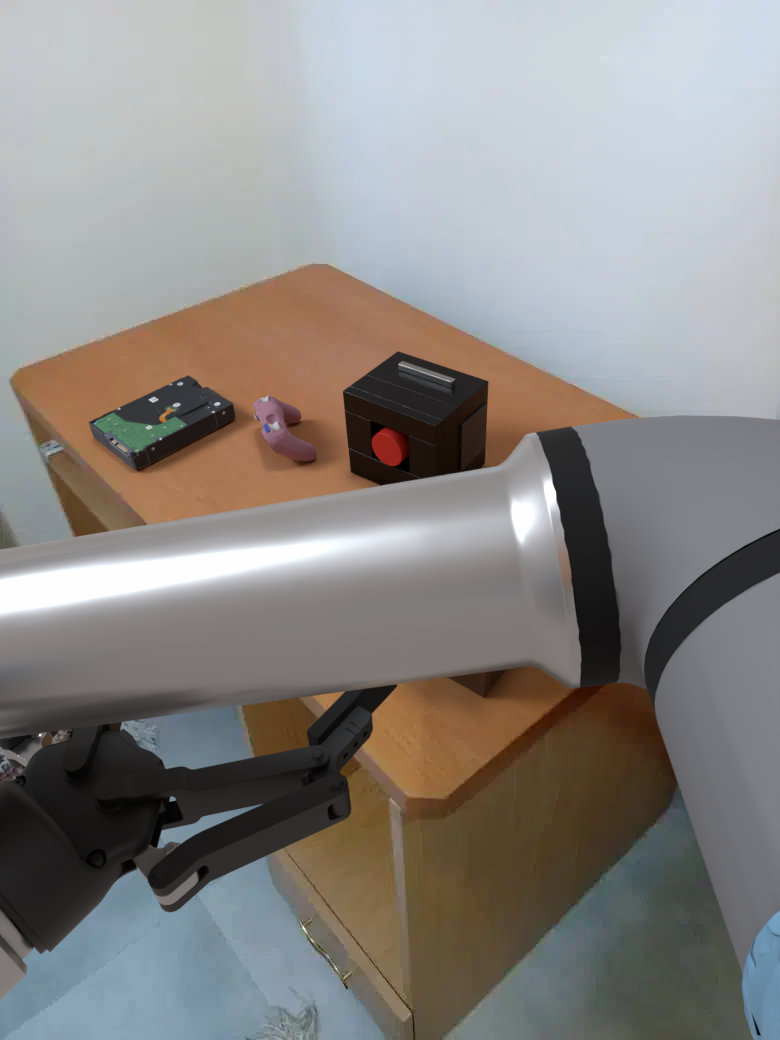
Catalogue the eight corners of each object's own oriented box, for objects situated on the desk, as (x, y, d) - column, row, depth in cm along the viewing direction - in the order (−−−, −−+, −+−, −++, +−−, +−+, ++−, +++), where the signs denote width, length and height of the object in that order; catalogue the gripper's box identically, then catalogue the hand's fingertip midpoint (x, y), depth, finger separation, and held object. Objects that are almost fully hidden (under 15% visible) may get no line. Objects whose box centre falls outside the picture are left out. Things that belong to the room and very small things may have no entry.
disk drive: (191, 392, 106) (92, 439, 98) (187, 373, 104) (85, 420, 97) (238, 420, 100) (136, 473, 93) (234, 402, 99) (130, 454, 91)
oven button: (416, 459, 86) (415, 428, 83) (402, 471, 84) (401, 440, 82) (386, 447, 88) (385, 417, 85) (372, 458, 86) (370, 428, 84)
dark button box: (486, 463, 91) (490, 374, 84) (438, 510, 85) (437, 420, 78) (401, 430, 97) (397, 344, 89) (350, 472, 91) (341, 384, 83)
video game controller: (273, 434, 100) (241, 397, 96) (303, 413, 100) (271, 375, 95) (290, 479, 93) (255, 442, 88) (322, 458, 93) (288, 419, 88)
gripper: (-114, 791, 44) (179, 572, 56) (185, 1129, 32) (473, 758, 44) (-182, 712, 39) (155, 491, 51) (140, 1076, 27) (478, 675, 39)
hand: (303, 614), depth 48 cm, fingers open, 13 cm apart
